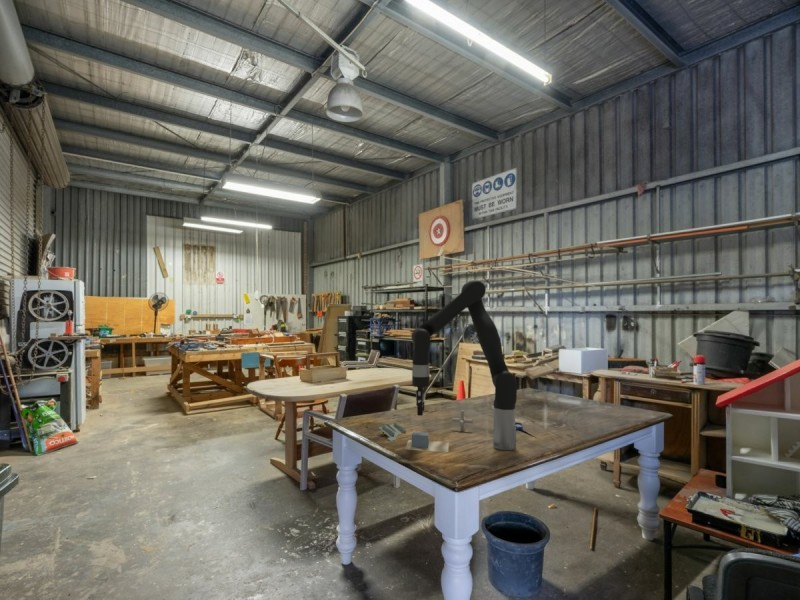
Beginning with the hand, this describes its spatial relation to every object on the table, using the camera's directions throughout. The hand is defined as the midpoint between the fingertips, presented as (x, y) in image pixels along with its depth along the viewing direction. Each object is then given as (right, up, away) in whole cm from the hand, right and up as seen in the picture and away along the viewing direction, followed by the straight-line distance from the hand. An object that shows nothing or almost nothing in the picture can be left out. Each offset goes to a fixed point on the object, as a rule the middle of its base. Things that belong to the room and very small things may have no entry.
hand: (421, 412), depth 171 cm
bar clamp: (+53, -18, +23) cm, 61 cm away
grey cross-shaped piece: (+22, -17, +27) cm, 39 cm away
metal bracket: (-12, -17, +19) cm, 28 cm away
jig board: (+3, -15, 0) cm, 16 cm away
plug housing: (0, -14, 0) cm, 14 cm away
